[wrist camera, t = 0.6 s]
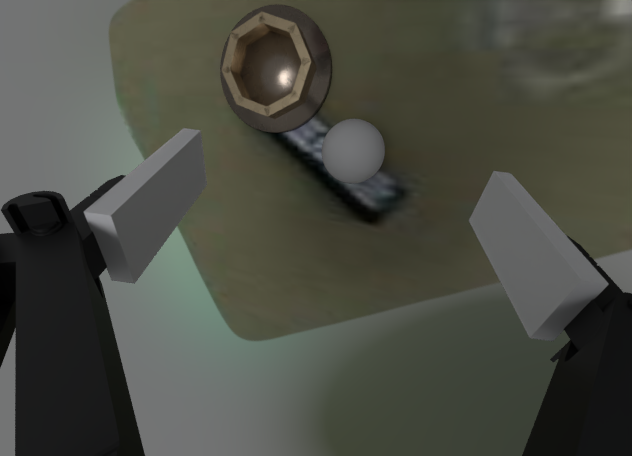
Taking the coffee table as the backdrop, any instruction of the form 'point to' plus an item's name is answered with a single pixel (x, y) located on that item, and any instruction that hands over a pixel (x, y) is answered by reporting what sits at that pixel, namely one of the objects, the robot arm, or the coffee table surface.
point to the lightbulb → (353, 151)
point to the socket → (276, 69)
